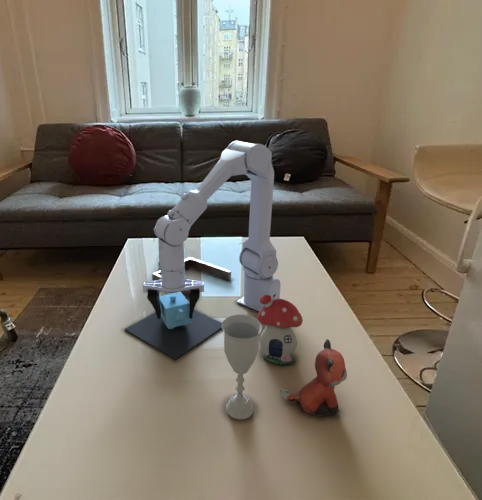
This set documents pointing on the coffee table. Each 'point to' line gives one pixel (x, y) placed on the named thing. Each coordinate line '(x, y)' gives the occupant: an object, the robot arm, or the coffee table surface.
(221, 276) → the brown u-shaped frame
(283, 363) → the decorative ornament
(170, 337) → the placemat
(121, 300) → the coffee table surface
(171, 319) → the teapot
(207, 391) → the coffee table surface
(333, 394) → the stuffed fox
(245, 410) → the chalice
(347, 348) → the coffee table surface
